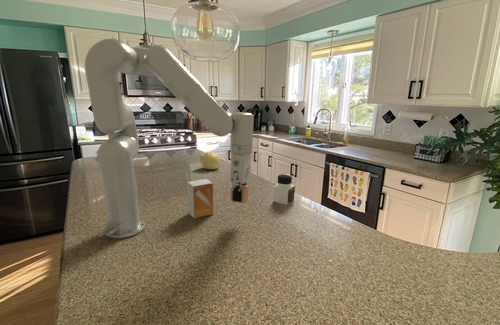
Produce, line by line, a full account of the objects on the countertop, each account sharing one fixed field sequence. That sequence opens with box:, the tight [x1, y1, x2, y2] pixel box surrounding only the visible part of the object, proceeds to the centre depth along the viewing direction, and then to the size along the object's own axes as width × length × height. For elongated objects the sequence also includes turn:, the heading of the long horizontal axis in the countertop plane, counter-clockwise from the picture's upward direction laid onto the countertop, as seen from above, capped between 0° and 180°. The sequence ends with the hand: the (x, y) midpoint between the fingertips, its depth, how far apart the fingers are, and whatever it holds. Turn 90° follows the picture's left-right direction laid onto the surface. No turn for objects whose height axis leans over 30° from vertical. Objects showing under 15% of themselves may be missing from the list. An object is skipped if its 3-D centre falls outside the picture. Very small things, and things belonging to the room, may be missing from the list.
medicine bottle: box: [272, 173, 296, 206], centre depth 114 cm, size 7×7×12 cm
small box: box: [186, 178, 214, 220], centre depth 100 cm, size 8×6×13 cm
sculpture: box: [199, 151, 221, 170], centre depth 165 cm, size 12×12×11 cm
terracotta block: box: [230, 184, 249, 204], centre depth 94 cm, size 5×5×5 cm
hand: (239, 197), depth 94 cm, fingers closed on terracotta block, 5 cm apart
